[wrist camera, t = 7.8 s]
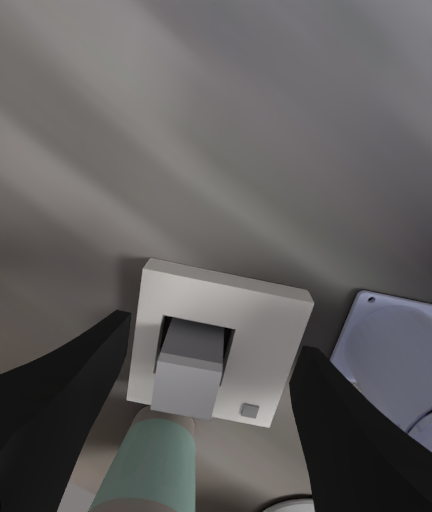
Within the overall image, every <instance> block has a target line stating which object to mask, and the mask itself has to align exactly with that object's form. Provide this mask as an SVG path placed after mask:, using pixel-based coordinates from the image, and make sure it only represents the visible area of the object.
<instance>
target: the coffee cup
mask: <svg viewBox="0 0 432 512" xmlns="http://www.w3.org/2000/svg"><path fill="white" fill-rule="evenodd" d="M150 409H151V405H148V406H146V407H144V408H142V409H141V410H140V411H139V412H138V413H137V414H136V416H135V418H134V420H133V422H132V424H131V426H130V428H129V430H128V432H127V434H126V436H125V438H124V440H123V442H122V444H121V446H120V448H119V450H118V452H117V454H116V456H115V458H114V460H113V462H112V464H111V466H110V468H109V470H108V472H107V474H106V476H105V478H104V480H103V482H102V484H101V486H100V488H99V490H98V492H97V494H96V497H95V499H94V501H93V503H92V505H91V507H90V509H89V511H88V512H195V424H194V421H193V419H192V418H191V417H188V416H183V415H177V414H172V413H166V412H161V411H155V410H150Z"/></svg>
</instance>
